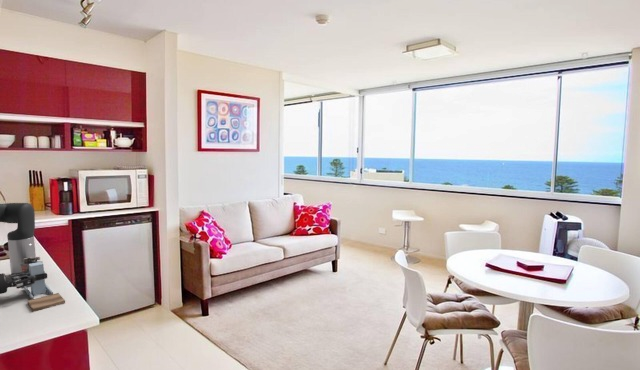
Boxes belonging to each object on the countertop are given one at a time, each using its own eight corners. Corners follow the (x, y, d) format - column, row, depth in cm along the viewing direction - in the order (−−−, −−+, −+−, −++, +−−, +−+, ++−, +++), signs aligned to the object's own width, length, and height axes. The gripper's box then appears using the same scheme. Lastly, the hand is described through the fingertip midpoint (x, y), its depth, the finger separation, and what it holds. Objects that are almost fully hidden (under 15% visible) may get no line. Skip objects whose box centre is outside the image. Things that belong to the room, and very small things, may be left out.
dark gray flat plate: (20, 284, 153) (20, 283, 153) (40, 279, 158) (40, 279, 158) (22, 288, 149) (22, 287, 149) (43, 283, 154) (43, 282, 154)
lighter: (20, 281, 157) (18, 259, 155) (24, 278, 160) (22, 256, 159) (41, 279, 159) (39, 257, 158) (45, 276, 162) (43, 255, 161)
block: (31, 292, 145) (28, 264, 143) (43, 289, 148) (41, 261, 146) (33, 295, 142) (30, 266, 141) (45, 292, 145) (43, 263, 144)
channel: (24, 289, 148) (24, 286, 148) (44, 284, 153) (43, 281, 152) (32, 301, 137) (32, 297, 137) (53, 295, 142) (53, 292, 142)
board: (27, 303, 135) (27, 300, 135) (58, 295, 142) (58, 292, 142) (33, 311, 129) (33, 308, 129) (65, 302, 136) (65, 300, 136)
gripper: (-10, 281, 128) (49, 269, 141) (-15, 272, 138) (41, 261, 150) (-8, 301, 129) (50, 287, 142) (-13, 290, 139) (42, 278, 151)
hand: (45, 274), depth 146 cm, fingers closed on block, 4 cm apart
